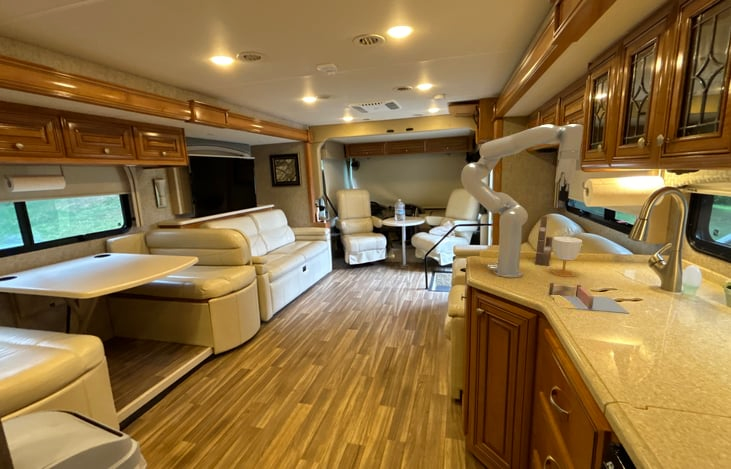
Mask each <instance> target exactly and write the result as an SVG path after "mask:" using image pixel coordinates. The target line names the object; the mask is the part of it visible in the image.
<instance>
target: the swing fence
mask: <svg viewBox="0 0 731 469" xmlns="http://www.w3.org/2000/svg"><path fill="white" fill-rule="evenodd" d="M577 297H578V298H579V299H580V300H581V301H582V302H583V303H584V304H585V305H586V306H587V307H588V308H592V307H593V300H594V297H593V296H592V295H591V294H590V293H589V292H588V291H587V290H586V289H584V288H583V287H582V286H581V287H578V294H577Z"/></svg>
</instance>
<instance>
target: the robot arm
mask: <svg viewBox="0 0 731 469" xmlns="http://www.w3.org/2000/svg"><path fill="white" fill-rule="evenodd" d="M583 133H584V125H583V124H581V123H571V124H565V125H563V126H561V125H559V126H558V125H555V124H552V123H547V124H541V125H539V126H535V127H532V128H528V129H525V130H523V131H520V132H517V133H514V134H511V135H507V136H503V137H499V138H496V139H493V140H490V141H486V142H485V143H483V144H482V145H481V146H480V148H479V155H480V158H479V159H478V161H477V162H469V163H468V164H466V165H465V166H464V167H463V168H462V170H461V174H460V180H461V184H462V186H463V188H464V189H465V190H466V192H467V193H468V194H470V195H471V196H472V197H473V199H475V200H476V201H477V202H478V203H479V204H481V206H483V208H484V209H486V210H487V211H488V212H489V213H491V214H499V215H500V217H499V222H498V224H499V226H498V227H499V241H498V253H497V254H498V255H497V262H496V263H495V264H494V263H493V264H486V268H487V269H490V270H493V274H494V275H496V276H498V277H503V278H508V279H516V278H517V279H518V278H520V277H522V276H523V272H522V271H521V270H520V263H521V261H520V260H521V251H522V250H521V249H522V238H523V236H522V226H523V225H525V224H526V223H527V222H528V218H529V216H528V211H527V210H526V209H525V208H524V206H522V205H520V204H519V203H518V202H517V201H516V200H515V199H514V198H512V197H511V196H510V195H509V194H506V193H504V192H501V191H500V192H497V191H495V189H492V188H491V186H489V185H488V184H486V182H484V181H483V180H484V179H485V178H487V177H488V176H489V175H490V174H491V172H492V170H493V169H494V168H495V167H496V165H497V164H498V162H499V161H500V160H501V159H502V158H504V157H508V156H511V155H517V154H518V153H521V152H522V151H524V150H526V149H529V148H532V147H537V146H541V145H545V144H546V145H555V144H559V148H558V156H557V160H558V163H557V167H556V168H557V169H556V175H555V178H554V179H555V180H554V181H555V182H554V183H555V184H559V193H558V201H561V202H567V201H568V200H569V196H570V195H569V194H570V187H571V185H572V184H573V183H574V182H575V177H576V167H577V160H580V155H581V146H582V140H583Z"/></svg>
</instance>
